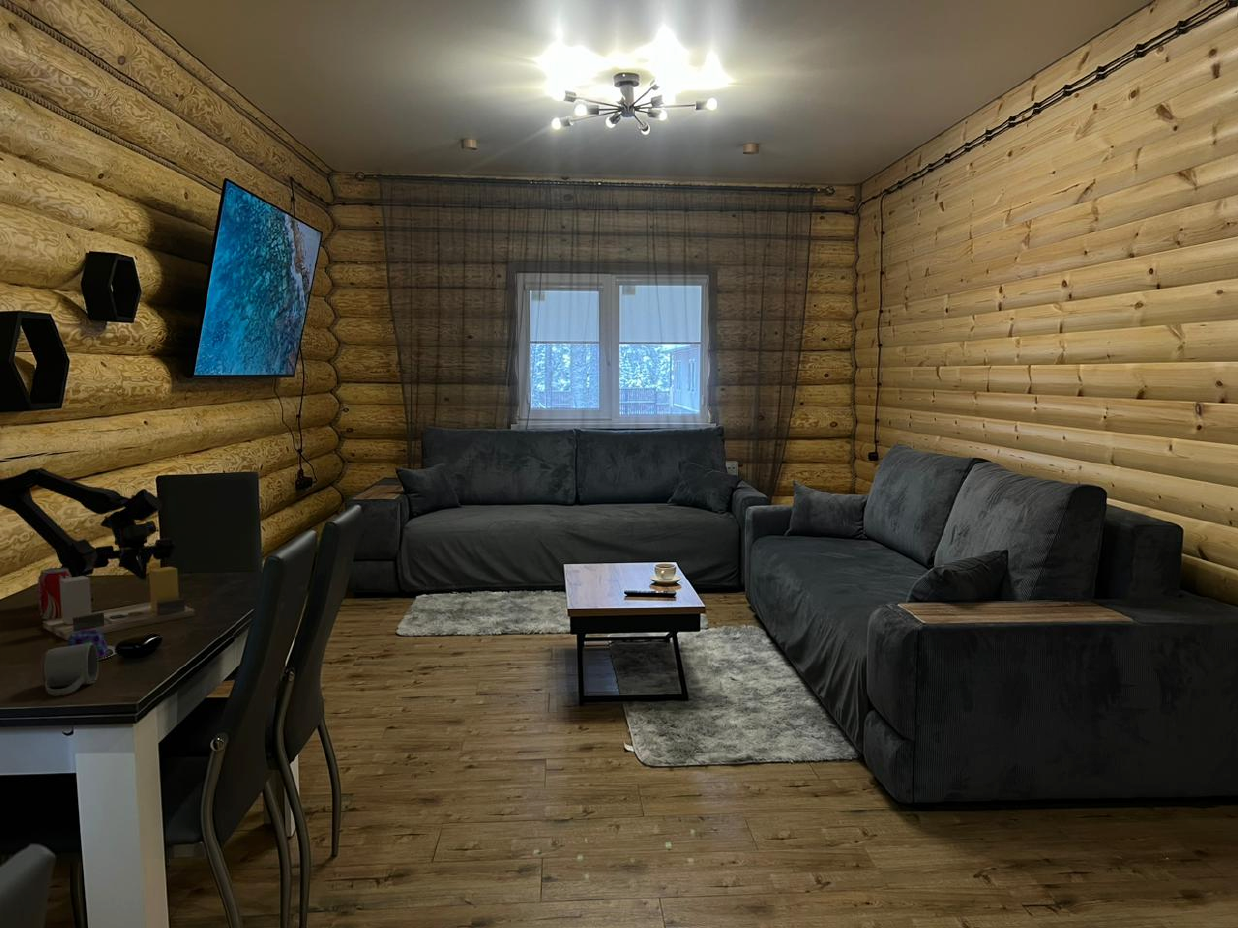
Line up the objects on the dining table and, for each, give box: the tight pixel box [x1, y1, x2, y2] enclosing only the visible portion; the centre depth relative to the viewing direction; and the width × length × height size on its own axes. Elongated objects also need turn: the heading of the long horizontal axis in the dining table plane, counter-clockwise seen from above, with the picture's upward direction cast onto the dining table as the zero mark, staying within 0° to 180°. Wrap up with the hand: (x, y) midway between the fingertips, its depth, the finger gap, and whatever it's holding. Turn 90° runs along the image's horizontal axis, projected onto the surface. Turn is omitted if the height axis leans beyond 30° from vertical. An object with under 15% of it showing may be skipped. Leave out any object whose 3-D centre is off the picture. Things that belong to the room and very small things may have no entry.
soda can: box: [37, 567, 72, 621], centre depth 212 cm, size 7×7×12 cm
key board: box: [42, 597, 195, 641], centre depth 209 cm, size 16×28×4 cm, turn 139°
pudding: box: [66, 630, 117, 661], centre depth 182 cm, size 12×12×5 cm
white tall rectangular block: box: [60, 576, 93, 625], centre depth 203 cm, size 4×5×10 cm
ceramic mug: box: [40, 643, 100, 697], centre depth 163 cm, size 11×8×8 cm
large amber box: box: [148, 566, 180, 612], centre depth 213 cm, size 4×5×10 cm
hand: (144, 578), depth 221 cm, fingers closed
